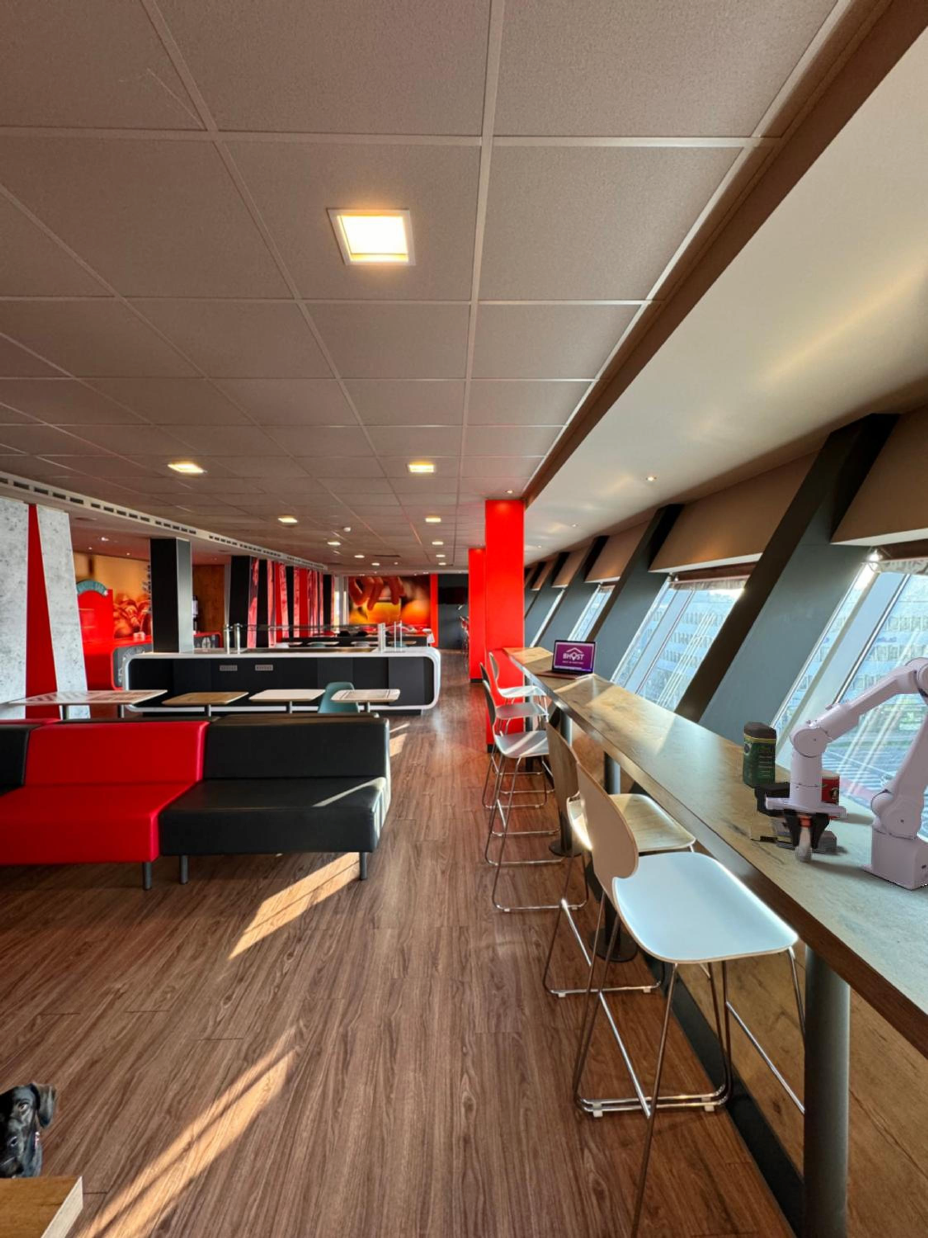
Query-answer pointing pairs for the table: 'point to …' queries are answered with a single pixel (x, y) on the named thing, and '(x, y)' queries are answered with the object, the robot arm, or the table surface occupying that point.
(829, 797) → the canned food
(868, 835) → the table surface
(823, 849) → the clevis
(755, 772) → the coffee jar
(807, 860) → the clear red-capped cylinder
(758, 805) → the digital camera
